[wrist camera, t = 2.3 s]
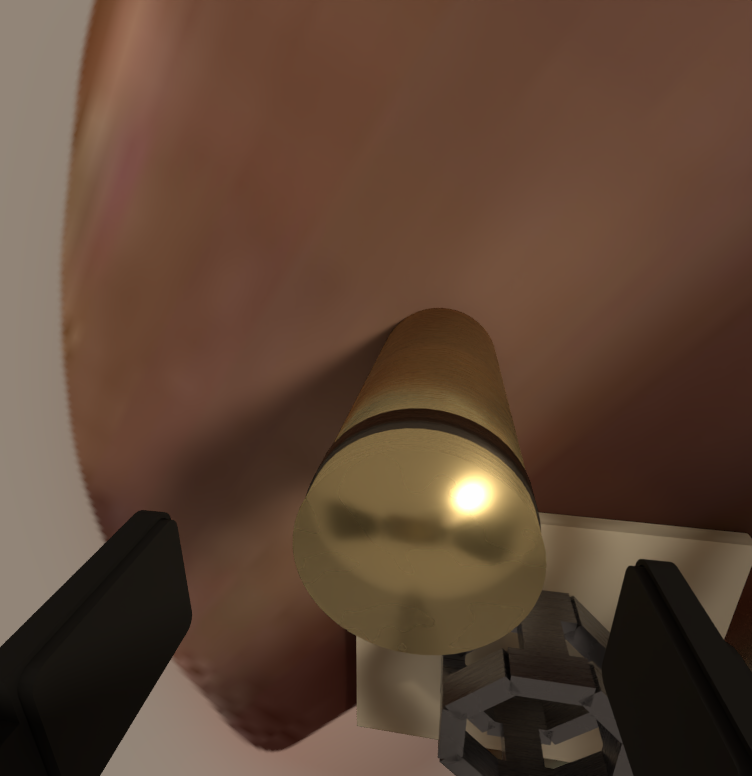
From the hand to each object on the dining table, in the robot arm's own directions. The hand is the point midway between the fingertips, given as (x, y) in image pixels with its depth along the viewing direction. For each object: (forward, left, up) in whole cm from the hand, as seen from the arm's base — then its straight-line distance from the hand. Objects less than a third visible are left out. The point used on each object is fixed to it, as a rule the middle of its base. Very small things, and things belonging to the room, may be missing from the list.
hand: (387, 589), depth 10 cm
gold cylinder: (-1, 0, -15) cm, 15 cm away
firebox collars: (-7, +17, -15) cm, 23 cm away
